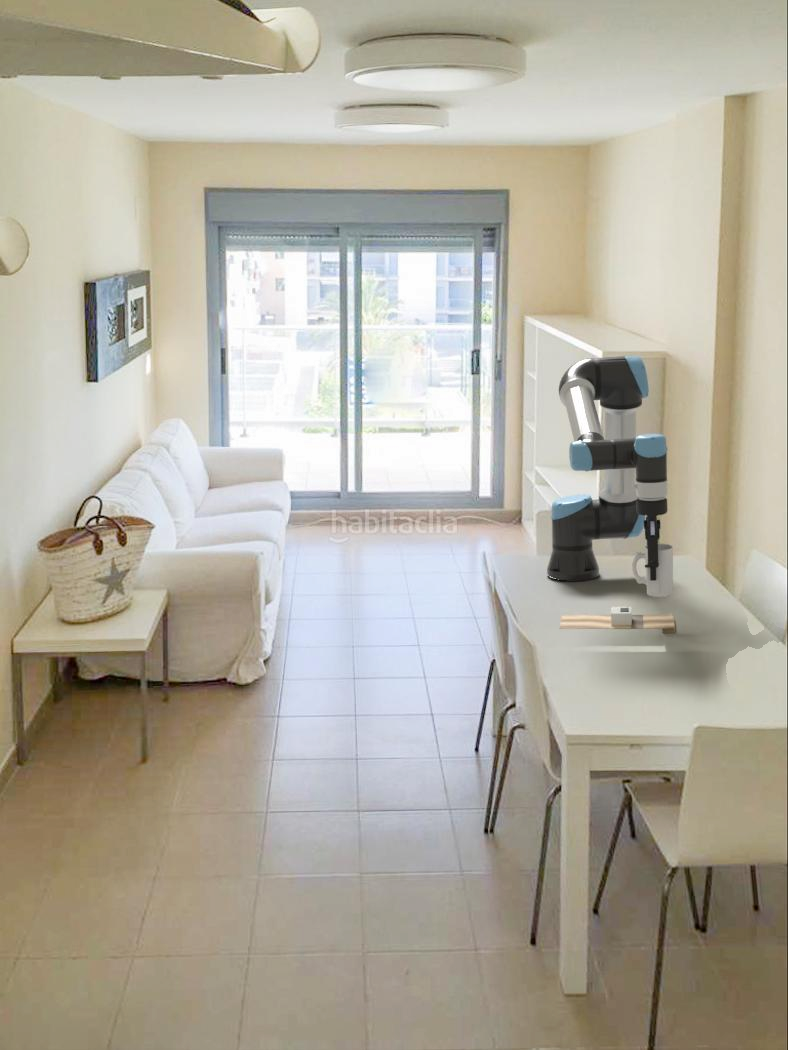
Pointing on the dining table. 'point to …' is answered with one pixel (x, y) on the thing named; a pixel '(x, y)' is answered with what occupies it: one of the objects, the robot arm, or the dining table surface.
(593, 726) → the dining table surface
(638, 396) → the robot arm
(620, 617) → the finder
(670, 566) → the mug
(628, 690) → the dining table surface
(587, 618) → the board
